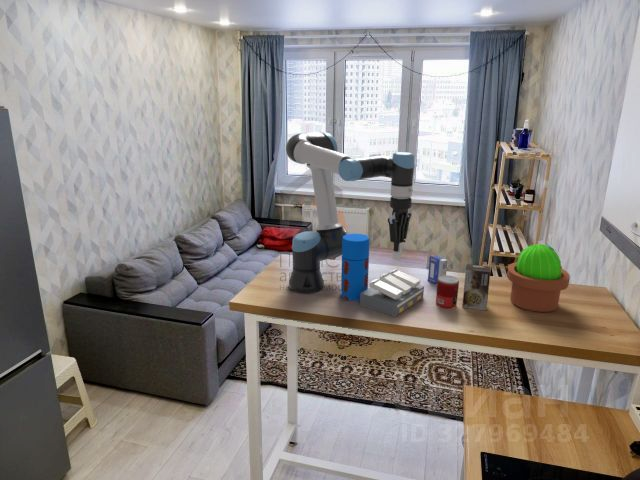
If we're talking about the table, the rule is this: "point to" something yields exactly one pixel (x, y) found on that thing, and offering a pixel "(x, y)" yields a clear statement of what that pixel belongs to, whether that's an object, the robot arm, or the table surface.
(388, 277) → the rocker
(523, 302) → the potted cactus
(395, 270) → the rocker
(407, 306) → the switch unit
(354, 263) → the thermos
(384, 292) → the rocker
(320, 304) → the table surface
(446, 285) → the canned food
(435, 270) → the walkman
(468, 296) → the coffee box
